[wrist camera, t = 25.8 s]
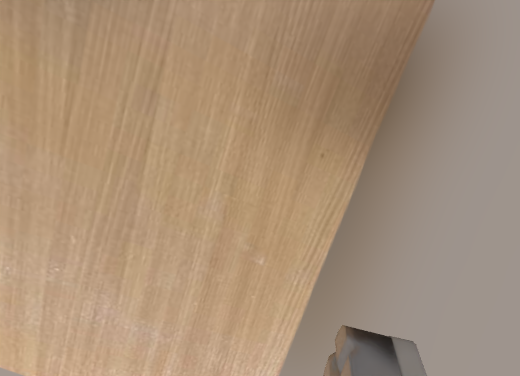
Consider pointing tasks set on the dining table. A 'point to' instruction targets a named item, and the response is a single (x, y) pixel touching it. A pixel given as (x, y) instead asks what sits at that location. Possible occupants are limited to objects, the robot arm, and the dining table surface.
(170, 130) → the dining table surface
